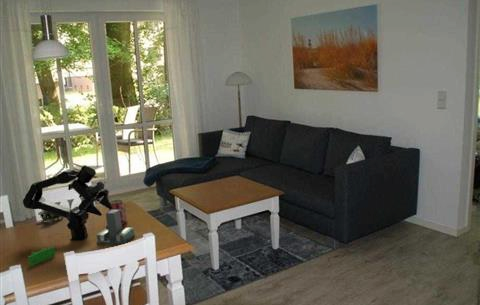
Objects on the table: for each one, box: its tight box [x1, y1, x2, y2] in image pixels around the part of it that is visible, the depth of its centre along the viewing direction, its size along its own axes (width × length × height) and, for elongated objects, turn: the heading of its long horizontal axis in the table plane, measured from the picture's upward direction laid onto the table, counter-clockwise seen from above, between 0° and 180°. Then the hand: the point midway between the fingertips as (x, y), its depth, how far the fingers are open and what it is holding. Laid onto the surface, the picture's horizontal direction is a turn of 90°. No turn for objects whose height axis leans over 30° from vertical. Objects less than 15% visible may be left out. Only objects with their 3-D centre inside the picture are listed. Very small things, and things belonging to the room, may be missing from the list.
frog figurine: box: [37, 210, 64, 224], centre depth 236 cm, size 18×18×12 cm
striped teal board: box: [96, 225, 136, 245], centre depth 203 cm, size 14×11×6 cm
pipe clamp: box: [27, 246, 56, 267], centre depth 184 cm, size 11×4×5 cm, turn 145°
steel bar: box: [105, 210, 123, 239], centre depth 202 cm, size 4×5×13 cm
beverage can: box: [108, 199, 128, 225], centre depth 224 cm, size 8×8×12 cm
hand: (106, 212), depth 201 cm, fingers open, 9 cm apart
